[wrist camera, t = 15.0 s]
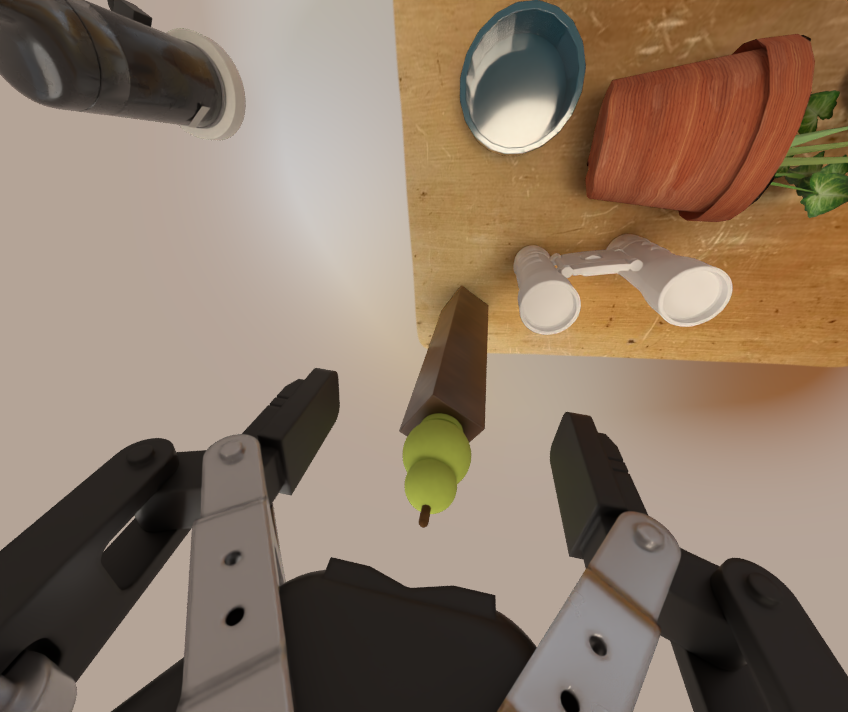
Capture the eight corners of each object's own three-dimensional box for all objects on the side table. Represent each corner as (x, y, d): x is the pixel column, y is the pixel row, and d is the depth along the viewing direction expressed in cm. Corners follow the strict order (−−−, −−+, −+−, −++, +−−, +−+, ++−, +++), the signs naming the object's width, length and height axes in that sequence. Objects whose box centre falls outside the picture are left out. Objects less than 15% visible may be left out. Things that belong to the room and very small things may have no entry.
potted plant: (570, 216, 45) (913, 221, 37) (589, 227, 32) (1133, 238, 23) (596, 67, 38) (1026, 32, 30) (635, 1, 25) (1428, -96, 16)
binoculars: (650, 227, 42) (741, 262, 27) (644, 270, 45) (723, 324, 29) (510, 244, 46) (518, 283, 31) (511, 282, 49) (520, 336, 33)
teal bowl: (445, 115, 40) (437, 106, 34) (510, -1, 35) (514, -35, 29) (520, 176, 42) (524, 178, 36) (594, 76, 36) (613, 58, 30)
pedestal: (441, 310, 53) (398, 431, 29) (461, 285, 50) (432, 394, 26) (467, 329, 54) (447, 462, 30) (488, 305, 51) (485, 429, 27)
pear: (399, 431, 29) (366, 524, 21) (433, 393, 26) (410, 484, 19) (448, 462, 30) (433, 562, 22) (486, 429, 27) (483, 529, 20)
